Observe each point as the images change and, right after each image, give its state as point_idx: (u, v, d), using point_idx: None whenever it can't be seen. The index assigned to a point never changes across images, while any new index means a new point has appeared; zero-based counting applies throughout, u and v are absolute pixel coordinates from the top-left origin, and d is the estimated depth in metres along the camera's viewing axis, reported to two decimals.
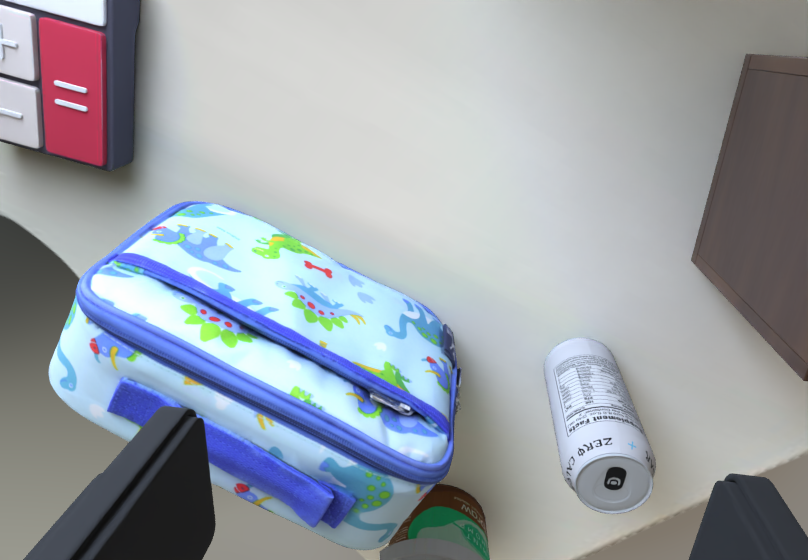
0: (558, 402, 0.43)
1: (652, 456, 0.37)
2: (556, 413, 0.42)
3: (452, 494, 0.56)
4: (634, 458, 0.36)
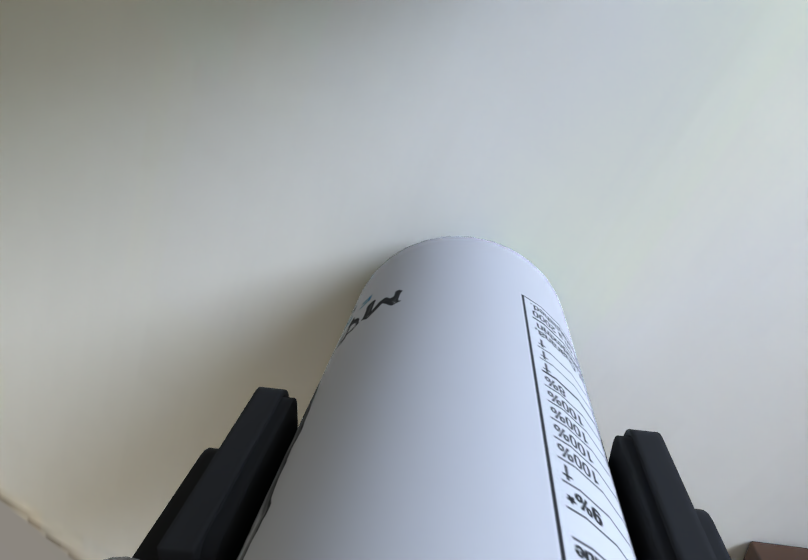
0: (525, 399, 0.09)
1: None
2: (494, 419, 0.08)
3: None
4: None
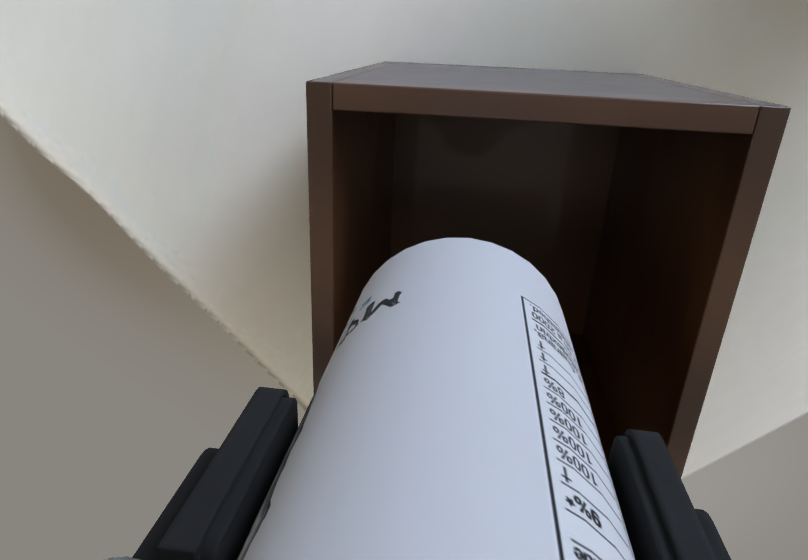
0: (523, 401, 0.09)
1: None
2: (493, 421, 0.08)
3: None
4: None
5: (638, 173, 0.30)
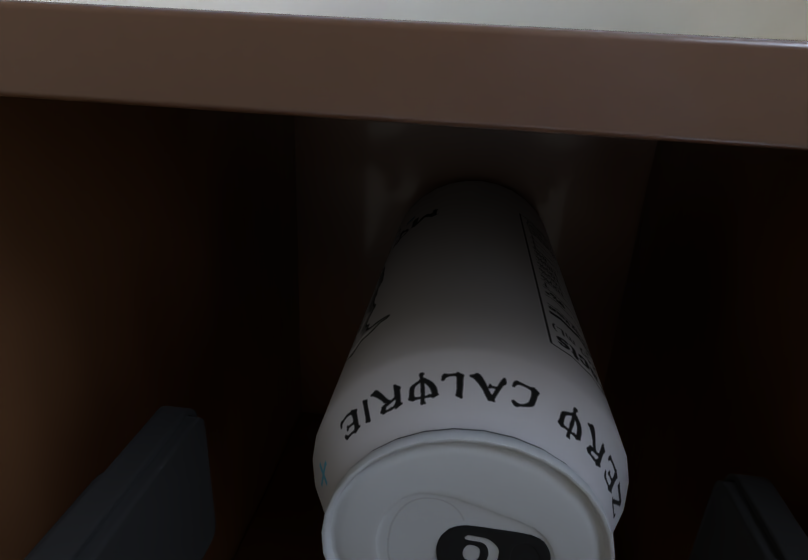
0: (521, 255, 0.15)
1: None
2: (504, 258, 0.14)
3: None
4: None
5: (698, 219, 0.16)
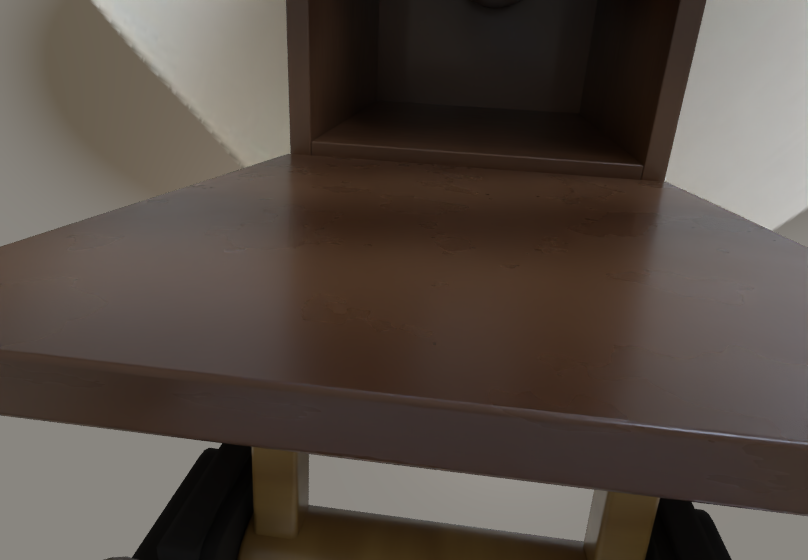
0: None
1: None
2: None
3: None
4: None
5: None
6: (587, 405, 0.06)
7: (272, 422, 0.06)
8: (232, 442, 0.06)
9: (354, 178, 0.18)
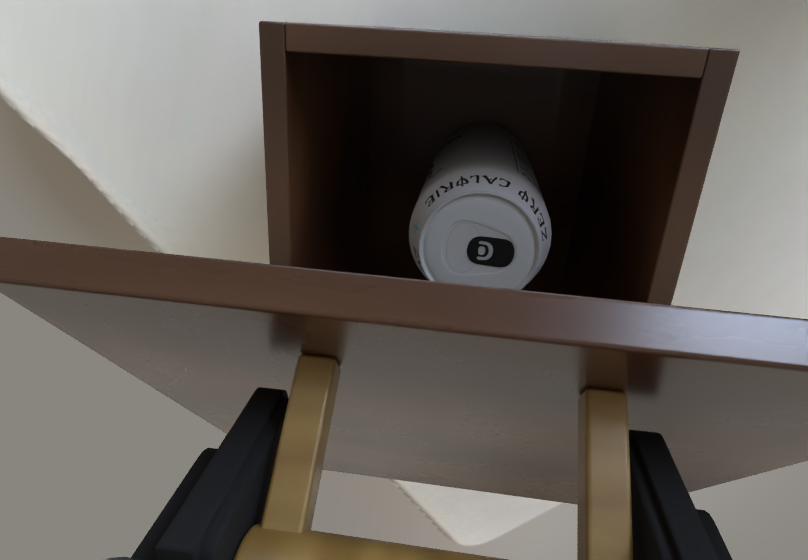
0: (508, 149, 0.28)
1: None
2: (499, 148, 0.27)
3: None
4: (531, 275, 0.23)
5: (608, 137, 0.30)
6: (550, 297, 0.09)
7: (342, 295, 0.09)
8: (310, 311, 0.08)
9: None
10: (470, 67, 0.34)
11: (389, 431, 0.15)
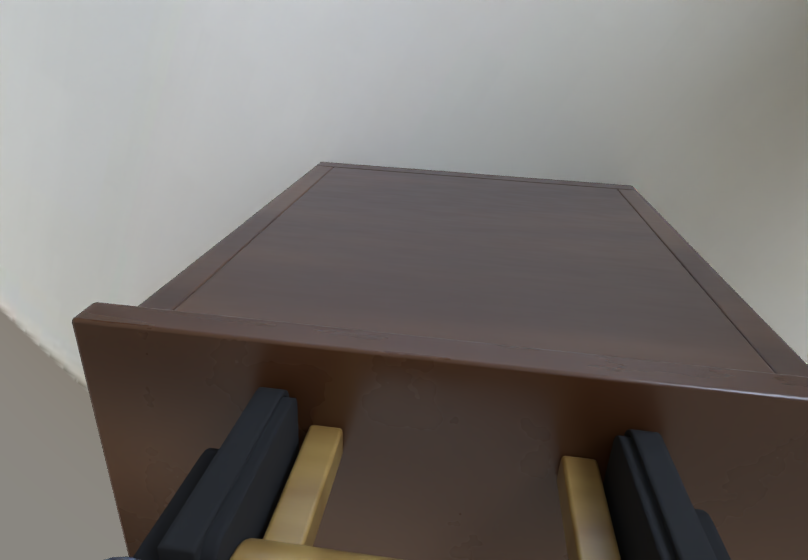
0: None
1: None
2: None
3: None
4: None
5: None
6: None
7: (363, 340, 0.11)
8: (337, 346, 0.11)
9: None
10: None
11: None
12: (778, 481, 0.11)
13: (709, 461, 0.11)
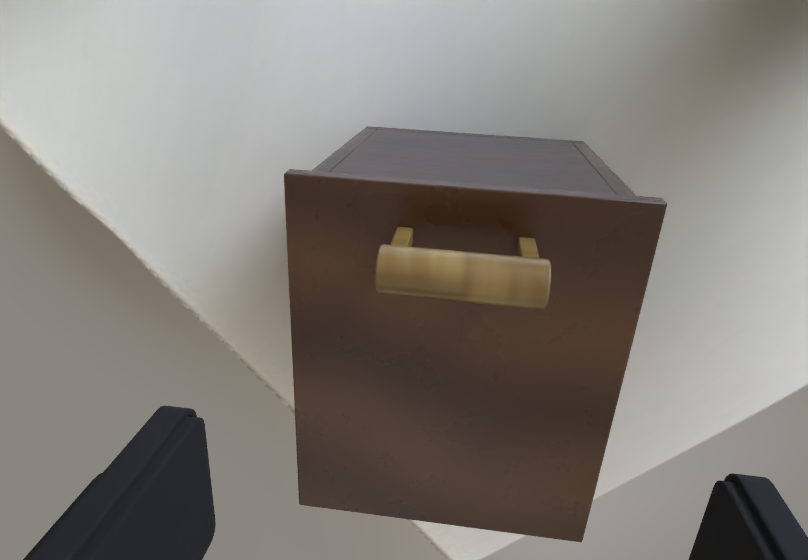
0: None
1: None
2: None
3: None
4: None
5: None
6: None
7: (424, 181, 0.23)
8: (413, 183, 0.23)
9: None
10: None
11: (418, 353, 0.26)
12: (618, 245, 0.23)
13: (586, 236, 0.23)
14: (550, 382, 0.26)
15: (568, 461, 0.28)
